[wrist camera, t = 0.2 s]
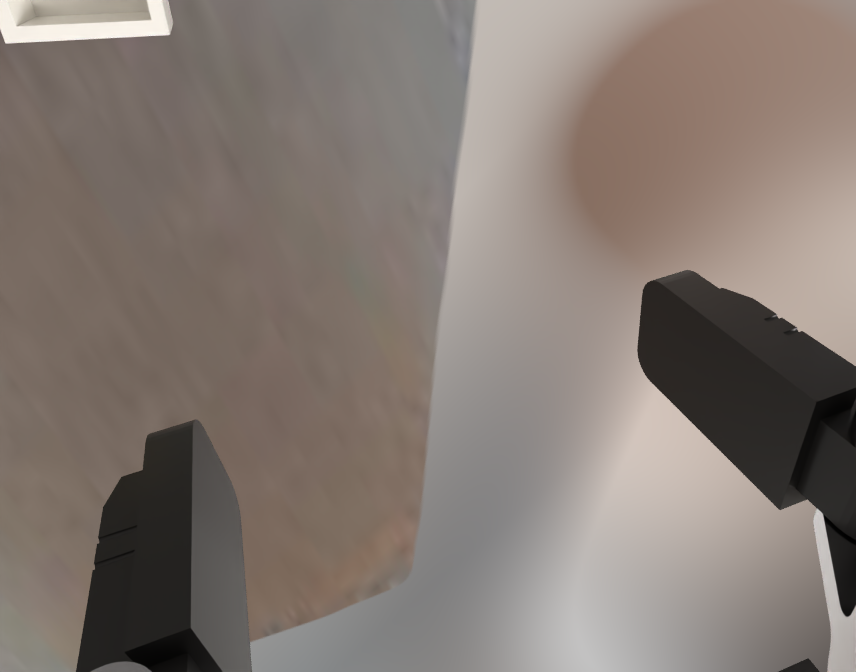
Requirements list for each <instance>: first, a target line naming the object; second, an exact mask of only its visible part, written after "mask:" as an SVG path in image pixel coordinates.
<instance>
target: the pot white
mask: <svg viewBox="0 0 856 672" xmlns="http://www.w3.org/2000/svg"><path fill="white" fill-rule="evenodd" d="M172 25H173V20H172V16H171V11H170V7H169V2H168V0H0V29H1V32H2V35H3V38H4V40H5V43H24V42H43V41H62V40H81V39H100V38H120V37H139V36H158V35H170V32H171V29H172Z"/></svg>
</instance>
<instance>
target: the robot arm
mask: <svg viewBox="0 0 856 672" xmlns="http://www.w3.org/2000/svg"><path fill="white" fill-rule="evenodd" d="M638 358H639V362H640V365H641V367H642V369H643V372H644V373H645V375H646V376H647V378H648V379H649V380H650V381H651V382H652V383H653V384H654V385H655V386H656V387H657V388H658V389H659V390H660V391H661V392H662V393H663V394H664V395H665V396H666V397H667V398H668V399H669V400H670V401H671V402H672V403H673V404H674V405H675V406H676V407H677V408H678V409H679V410H680V411H681V412H682V413H683V414H684V415H685V416H686V417H687V418H688V419H689V420H690V421H691V422H692V423H693V424H694V425H695V426H696V427H697V428H698V429H699V430H700V431H701V432H702V433H703V434H704V435H705V436H706V437H707V438H708V439H709V440H710V441H711V442H712V443H713V444H714V445H715V446H716V447H717V448H718V449H719V450H720V451H721V452H722V453H723V454H724V455H725V456H726V457H727V458H728V459H729V460H730V461H731V462H732V463H733V464H734V465H735V466H736V467H737V468H738V469H739V470H740V471H741V472H742V473H743V474H744V475H745V476H746V477H747V478H748V479H749V480H750V481H751V482H752V483H753V484H754V485H755V486H756V487H757V488H758V489H759V490H760V491H761V492H762V493H763V494H764V495H765V496H766V497H767V498H768V499H769V500H770V501H771V502H772V503H773V504H774V505H775V506H776V507H777V508H778V509H779V510H781V509H784V508H787V507H789V506H791V505H794V504H796V503H799V502H802V501H804V500H807V499H808V500H809V501H810V502H811V503H812V504H813V505H814V506H815V507H816V508H817V509H816V512H815V514H814V519H813V522H814V530H815V536H816V542H817V548H818V554H819V560H820V566H821V572H822V577H823V583H824V589H825V595H826V601H827V607H828V613H829V619H830V624H831V646H830V652H829V659H828V672H856V366H854V365H853V364H851V363H850V362H848V361H846V360H845V359H844V358H842V357H841V356H839V355H838V354H836V353H834V352H833V351H831V350H830V349H828V348H827V347H825V346H824V345H822V344H821V343H819V342H818V341H816V340H815V339H813V338H812V337H810V336H809V335H807V334H806V333H804V332H803V331H801V332H798V330H797V327H795V326H793V325H792V324H791V323H789V322H788V321H786V320H785V319H783V318H780V319H779V318H778V317H777V314H776V313H774V312H773V311H771V310H770V309H768V308H767V307H765V306H764V305H762V304H760V303H759V302H758V301H756V300H754V299H753V298H750V297H747V296H744V295H741V294H738V293H736V292H733V291H730V290H727V289H724V288H721V289H719V288H717V287H716V286H714V285H713V284H711V283H710V282H709V281H707V280H706V279H704V278H703V277H701V276H700V275H698V274H697V273H695V272H693V271H690V270H686V271H682V272H679V273H675V274H672V275H669V276H666V277H662V278H659V279H656V280H653V281H650V282H648V283H647V284H646V285H645V287H644V289H643V295H642V305H641V315H640V327H639V338H638ZM98 538H99V544H97V548H96V554H95V560H94V564H95V570H93V572H92V578H91V585H90V591H89V597H88V603H87V609H86V615H85V621H84V627H83V633H82V639H81V645H80V651H79V657H78V663H77V669H76V672H252V667H251V654H250V640H249V626H248V612H247V598H246V584H245V571H244V557H243V543H242V529H241V517H240V510H239V505H238V501H237V497H236V494H235V491H234V488H233V485H232V483H231V481H230V478H229V476H228V475H227V473H226V471H225V469H224V467H223V465H222V463H221V461H220V459H219V457H218V455H217V453H216V451H215V449H214V447H213V445H212V443H211V441H210V439H209V437H208V435H207V433H206V431H205V429H204V427H203V426H202V424H201V423H200V422H199V421H198V420H193V421H190V422H186V423H183V424H180V425H177V426H173V427H170V428H167V429H164V430H160V431H157V432H154V433H151V434H149V435H148V436H147V438H146V444H145V454H144V464H143V470H142V471H139V472H135V473H132V474H129V475H126V476H123V477H121V479H120V480H119V482H118V484H117V485H116V487H115V489H114V490H113V492H112V494H111V495H110V497H109V499H108V500H107V502H106V504H105V505H104V507H103V512H102V518H101V524H100V530H99V536H98ZM779 672H819V671H818V669H817V668H816V667H815V666H814V664H813V663H812V662H811V661H810V660H809V659H806V660H804V661H801V662H799V663H797V664H795V665H792V666H790V667H788V668H786V669H783V670H781V671H779Z"/></svg>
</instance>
